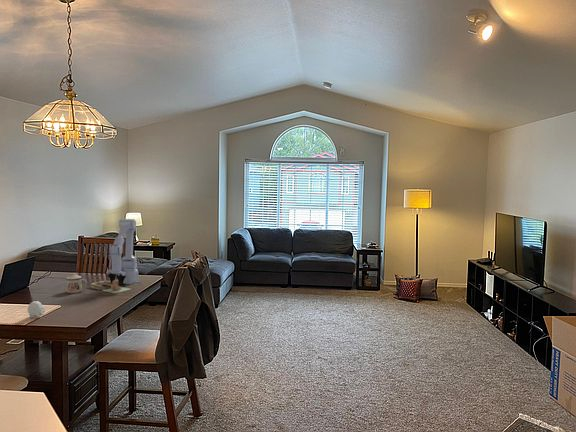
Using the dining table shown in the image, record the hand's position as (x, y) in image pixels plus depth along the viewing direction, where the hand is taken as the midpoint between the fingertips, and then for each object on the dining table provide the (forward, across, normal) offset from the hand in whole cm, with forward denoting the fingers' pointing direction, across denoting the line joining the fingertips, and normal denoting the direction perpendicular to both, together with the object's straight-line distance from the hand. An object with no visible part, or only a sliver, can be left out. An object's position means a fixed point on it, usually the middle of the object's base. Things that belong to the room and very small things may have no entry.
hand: (116, 285), depth 294 cm
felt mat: (+3, 0, 0) cm, 3 cm away
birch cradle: (+3, -15, 0) cm, 15 cm away
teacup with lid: (+3, -18, -16) cm, 25 cm away
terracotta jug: (+3, 0, 0) cm, 3 cm away
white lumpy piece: (+3, +12, -58) cm, 59 cm away
